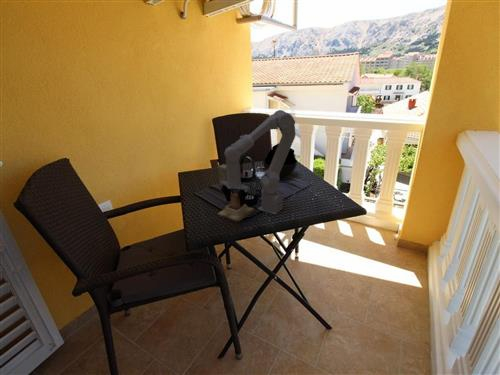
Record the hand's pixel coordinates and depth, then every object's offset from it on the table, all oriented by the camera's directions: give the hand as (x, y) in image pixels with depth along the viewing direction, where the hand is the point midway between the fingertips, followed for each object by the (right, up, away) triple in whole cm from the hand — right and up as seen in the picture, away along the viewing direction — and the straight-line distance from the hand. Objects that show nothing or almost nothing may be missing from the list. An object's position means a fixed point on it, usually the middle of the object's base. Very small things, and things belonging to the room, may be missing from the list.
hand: (235, 203), depth 118 cm
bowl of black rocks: (+25, +13, +41) cm, 50 cm away
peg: (0, -4, +2) cm, 4 cm away
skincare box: (-7, +7, +31) cm, 32 cm away
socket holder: (0, -4, +2) cm, 5 cm away
